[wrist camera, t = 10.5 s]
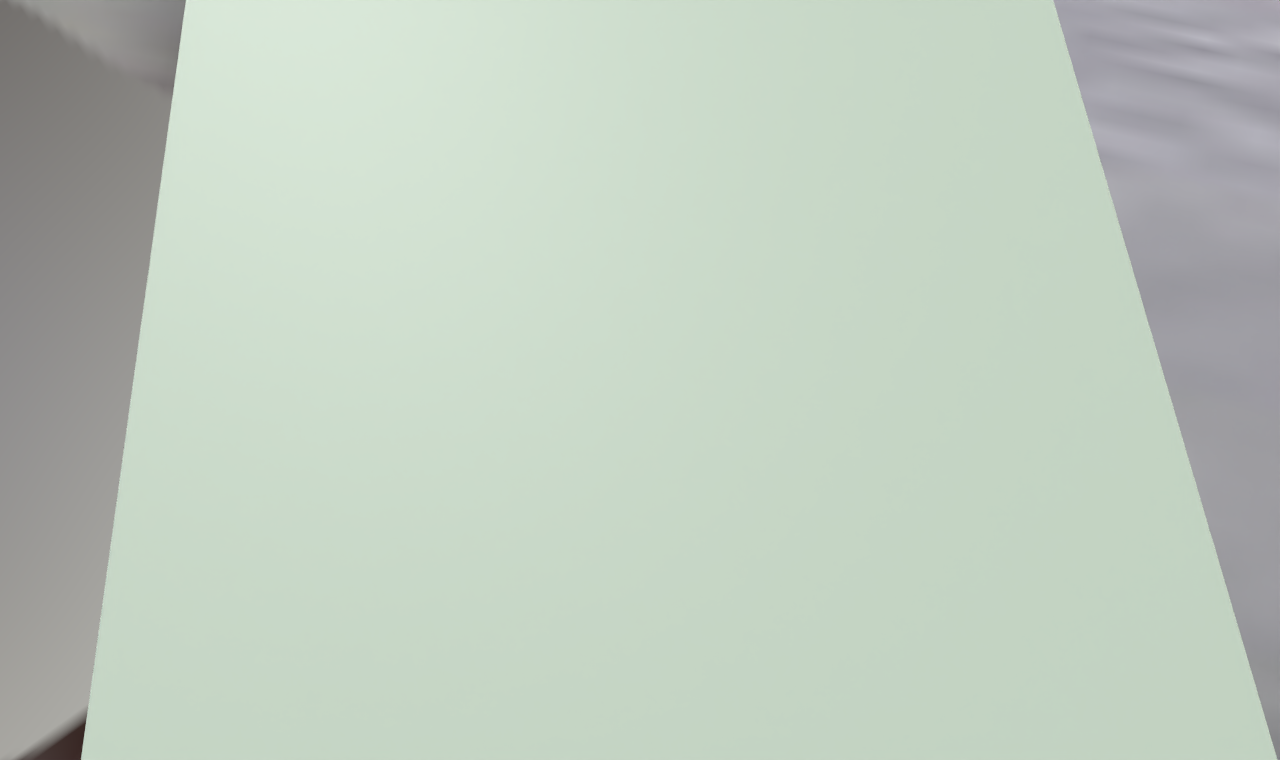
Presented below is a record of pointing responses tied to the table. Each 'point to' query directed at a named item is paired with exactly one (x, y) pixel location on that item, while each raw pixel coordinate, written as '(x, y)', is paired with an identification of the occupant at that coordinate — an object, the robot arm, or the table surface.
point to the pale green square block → (650, 400)
